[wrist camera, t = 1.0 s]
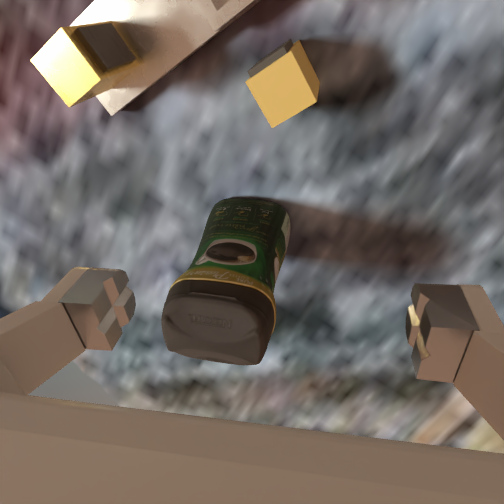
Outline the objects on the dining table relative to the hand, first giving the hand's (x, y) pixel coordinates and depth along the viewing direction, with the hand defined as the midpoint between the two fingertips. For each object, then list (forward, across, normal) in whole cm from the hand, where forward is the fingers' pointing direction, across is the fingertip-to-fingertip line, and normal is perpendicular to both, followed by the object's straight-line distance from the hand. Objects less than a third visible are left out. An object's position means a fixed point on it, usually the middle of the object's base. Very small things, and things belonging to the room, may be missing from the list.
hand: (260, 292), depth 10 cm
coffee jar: (+29, +6, +15) cm, 33 cm away
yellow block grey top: (+29, +2, -1) cm, 29 cm away
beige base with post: (+29, +12, -7) cm, 32 cm away
